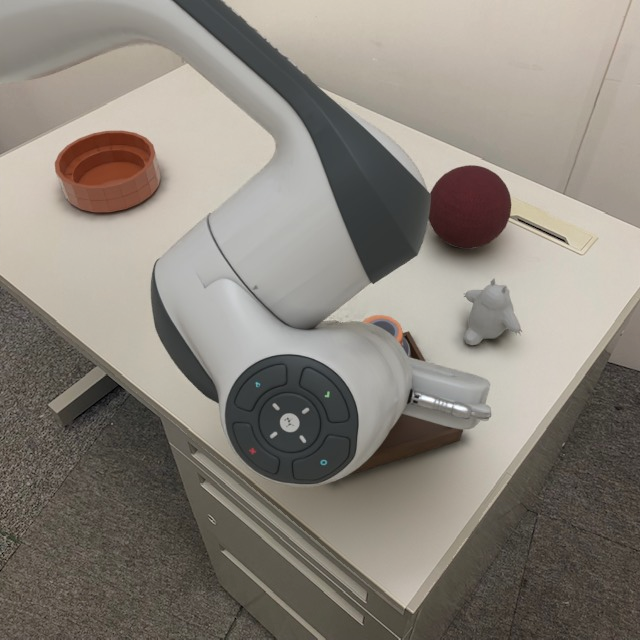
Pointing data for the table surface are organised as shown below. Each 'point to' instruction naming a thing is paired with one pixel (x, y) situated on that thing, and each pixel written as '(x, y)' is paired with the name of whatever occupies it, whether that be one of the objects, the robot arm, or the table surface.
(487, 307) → the figurine
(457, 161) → the table surface
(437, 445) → the tray
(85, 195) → the bowl
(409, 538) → the table surface
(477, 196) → the decorative ball
